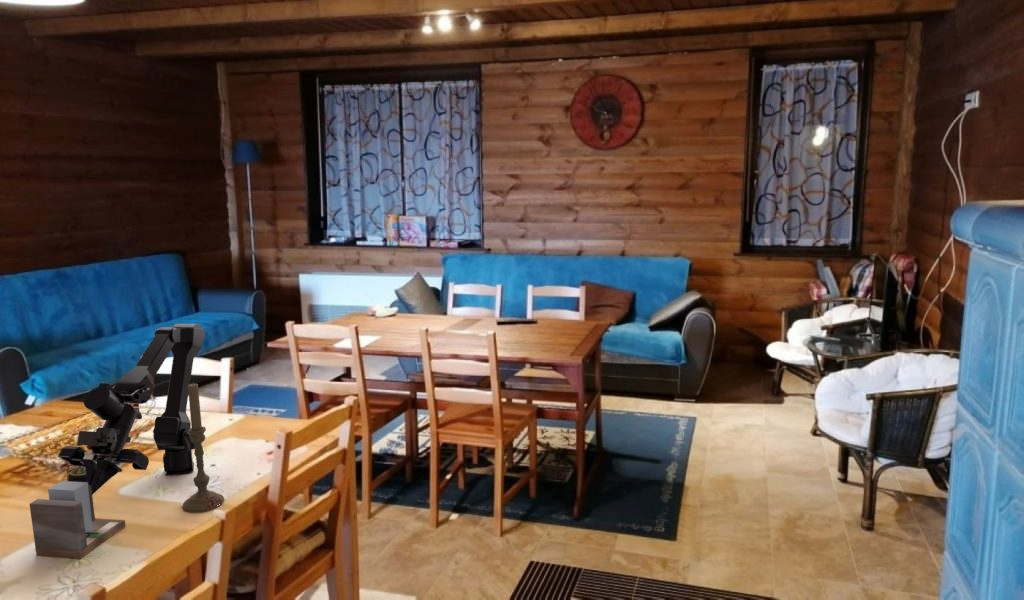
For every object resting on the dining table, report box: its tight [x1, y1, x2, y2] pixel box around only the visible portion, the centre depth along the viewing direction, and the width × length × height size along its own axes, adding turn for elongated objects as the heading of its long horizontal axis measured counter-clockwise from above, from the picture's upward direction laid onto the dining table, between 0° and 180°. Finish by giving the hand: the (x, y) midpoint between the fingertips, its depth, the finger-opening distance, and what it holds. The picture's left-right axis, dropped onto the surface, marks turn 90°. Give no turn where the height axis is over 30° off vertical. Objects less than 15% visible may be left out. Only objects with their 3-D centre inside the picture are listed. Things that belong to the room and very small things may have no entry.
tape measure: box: [66, 467, 86, 482], centre depth 186 cm, size 7×7×4 cm
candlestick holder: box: [182, 381, 225, 513], centre depth 172 cm, size 9×9×30 cm
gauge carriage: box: [47, 480, 99, 535], centre depth 155 cm, size 5×9×11 cm, turn 82°
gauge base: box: [29, 498, 126, 560], centre depth 156 cm, size 14×10×12 cm
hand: (88, 494), depth 160 cm, fingers closed
